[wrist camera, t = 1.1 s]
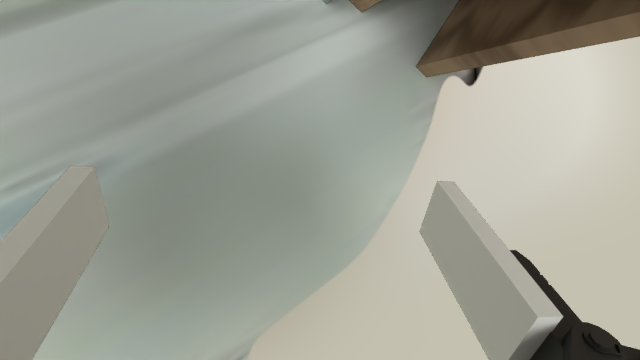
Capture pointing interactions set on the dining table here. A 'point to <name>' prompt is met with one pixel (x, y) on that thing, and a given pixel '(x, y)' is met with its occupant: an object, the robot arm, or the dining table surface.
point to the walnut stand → (522, 30)
